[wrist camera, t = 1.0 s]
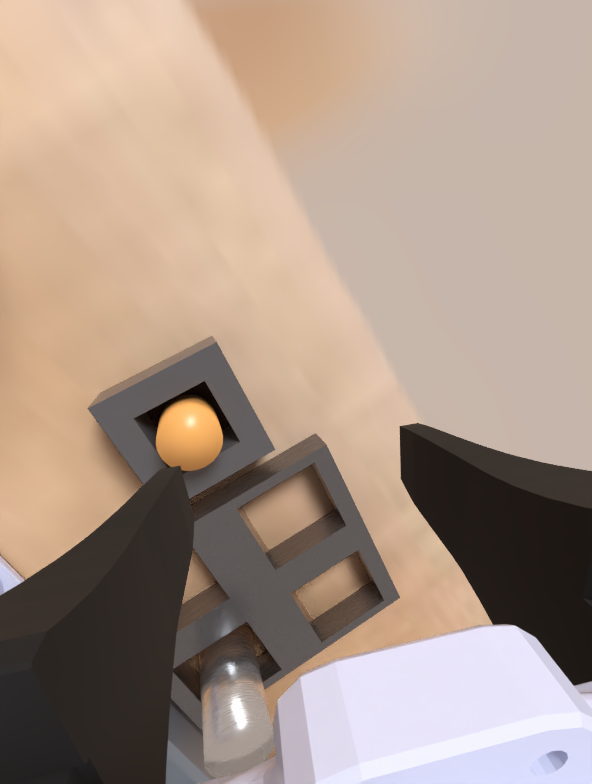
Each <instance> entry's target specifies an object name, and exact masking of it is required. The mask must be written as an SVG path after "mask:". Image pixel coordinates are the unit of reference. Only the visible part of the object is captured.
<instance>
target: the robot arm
mask: <svg viewBox="0 0 592 784" xmlns="http://www.w3.org/2000/svg"><path fill="white" fill-rule="evenodd" d="M400 456H401V480H402V482H403V484H404V486H405V488H406V490H407V491H408V493H409V495H410V497H411V499H412V501H413V502H414V504H415V505H416V507H417V508H418V510H419V511H420V513H421V514H422V515H423V517H424V518H425V519H426V521H427V522H428V524H429V525H430V526H431V528H432V529H433V530H434V532H435V533H436V534H437V536H438V537H439V539H440V540H441V541H442V543H443V544H444V545H445V547H446V548H447V549H448V551H449V552H450V553H451V555H452V556H453V558H454V559H455V561H456V562H457V564H458V565H459V567H460V568H461V569H462V571H463V573H464V574H465V576H466V578H467V580H468V581H469V583H470V585H471V586H472V588H473V590H474V591H475V593H476V595H477V597H478V598H479V600H480V602H481V604H482V605H483V607H484V609H485V611H486V613H487V614H488V616H489V618H490V620H491V622H492V623H493V625H478V626H474V627H470V628H465V629H461V630H457V631H453V632H449V633H444V634H440V635H436V636H432V637H427V638H423V639H419V640H415V641H410V642H406V643H402V644H398V645H394V646H389V647H385V648H381V649H377V650H372V651H368V652H364V653H360V654H356V655H351V656H347V657H343V658H339V659H334V660H332V661H329V662H327V663H325V664H323V665H320V666H318V667H316V668H313V669H311V670H309V671H306V672H304V673H303V674H302V675H301V676H300V677H299V678H298V679H297V680H296V681H295V682H294V683H293V684H292V685H291V686H290V687H289V688H288V689H287V690H286V691H285V692H284V693H283V694H282V696H281V697H280V698H279V699H278V700H277V706H276V711H275V717H274V722H273V731H274V744H275V756H274V757H272V758H270V759H268V760H266V761H264V762H262V763H260V764H258V765H256V766H254V767H252V768H250V769H248V770H246V771H244V772H240V773H237V774H233V775H229V776H225V777H221V778H217V779H214V780H210V781H206V782H202V783H198V784H592V471H587V470H580V469H575V468H569V467H563V466H557V465H552V464H547V463H542V462H538V461H533V460H530V459H526V458H522V457H517V456H514V455H510V454H506V453H503V452H500V451H497V450H494V449H491V448H487V447H484V446H481V445H479V444H476V443H473V442H470V441H467V440H464V439H462V438H459V437H456V436H454V435H451V434H448V433H446V432H443V431H440V430H437V429H435V428H432V427H429V426H426V425H423V424H419V423H416V424H410V425H405V426H400ZM194 519H195V518H194V515H193V511H192V507H191V503H190V500H189V496H188V492H187V488H186V485H185V481H184V477H183V473H182V470H181V466H175V467H169V468H164V469H160V470H159V471H158V472H157V473H156V474H154V475H153V476H152V477H151V478H150V479H149V480H148V481H147V482H146V483H145V484H144V485H143V486H142V487H141V488H140V489H139V490H138V491H137V492H136V493H135V494H134V495H133V496H132V497H131V498H130V499H129V500H128V501H127V502H126V503H125V504H124V505H123V506H122V507H121V508H120V509H119V510H117V511H116V512H115V513H114V514H113V515H112V516H111V517H110V518H109V519H107V520H106V521H105V522H104V523H103V524H102V525H101V526H100V527H99V528H97V529H96V530H95V531H94V532H93V533H91V534H90V535H89V536H88V537H86V538H85V539H84V540H83V541H81V542H80V543H79V544H77V545H76V546H75V547H73V548H72V549H71V550H69V551H68V552H67V553H65V554H64V555H63V556H61V557H60V558H58V559H57V560H55V561H54V562H52V563H51V564H49V565H48V566H46V567H45V568H43V569H42V570H40V571H39V572H37V573H36V574H34V575H33V576H31V577H30V578H28V579H27V580H24V579H23V578H22V577H21V576H20V575H19V574H18V573H17V572H16V571H15V570H14V569H13V568H12V567H11V566H10V565H9V564H8V563H7V562H6V561H5V560H4V559H3V558H2V557H1V556H0V784H166V763H167V747H168V731H169V714H170V701H171V689H172V676H173V665H174V655H175V644H176V634H177V627H178V621H179V615H180V610H181V605H182V600H183V595H184V590H185V585H186V580H187V575H188V570H189V565H190V560H191V555H192V549H193V538H194Z"/></svg>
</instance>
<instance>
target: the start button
mask: <svg viewBox="0 0 592 784" xmlns="http://www.w3.org/2000/svg"><path fill="white" fill-rule="evenodd" d="M222 444H223V434H222V430H221V427H220V423H219V420H218V417H217V414H216V411H215V409H214V407H213V406H212V405H211V403H210V402H208V401H207V400H206V399H204V398H202V397H200V396H196V395H182V396H179V397H176V398H174V399H172V400H171V401H170V402H168V403H167V404H166V405H165V407H164V408H163V410H162V412H161V414H160V418H159V424H158V430H157V436H156V448H157V451H158V454H159V455H160V457H161V458H162V460H163V461H164V462H165V463H166V464H168V465H169V466H171V467H175V466H181V470H183V471H193V470H198V469H201V468H203V467H205V466H207V465H209V464H210V463H211V462H213V461H214V460H215V459H216V457H217V456H218V454H219V453H220V451H221V448H222Z"/></svg>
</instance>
